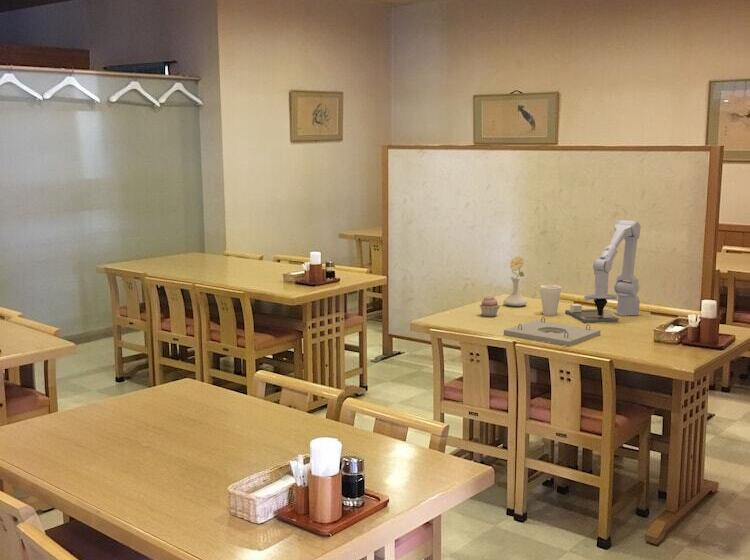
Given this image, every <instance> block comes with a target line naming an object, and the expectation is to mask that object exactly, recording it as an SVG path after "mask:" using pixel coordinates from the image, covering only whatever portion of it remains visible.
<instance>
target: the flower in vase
mask: <svg viewBox="0 0 750 560" xmlns="http://www.w3.org/2000/svg"><path fill="white" fill-rule="evenodd" d="M524 265H525V259H524V257H522V256H521V255H518V256H515V257H513V259H511V261H510V263H509V266H510V267H509V268H510V270H511V272H512V273H513V274H514V275H516V276H512V277H510V279H511V280H512V293H510V294H509V295H508V296H506V298H504V299H503V303H504V304H505V305H506V306H510V307H521V306H525V305H526V304H527V303H528V301H527V300H526V299H525V297H523V296H522V295H521V294H520V293H519V289H518V288H519V283H520V280H521V279H522V278H521V277H525V273H524V271H521V268H523V266H524ZM515 271H516V272H517V271H518V273H516V272H515Z"/></svg>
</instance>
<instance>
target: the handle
mask: <svg viewBox="0 0 750 560" xmlns="http://www.w3.org/2000/svg"><path fill="white" fill-rule="evenodd" d="M569 306H570V307H569V310H570V311H572V312H582V310H583V306H582V304H580V303H570V305H569Z"/></svg>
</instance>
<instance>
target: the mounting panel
mask: <svg viewBox="0 0 750 560" xmlns="http://www.w3.org/2000/svg"><path fill="white" fill-rule="evenodd" d="M601 331H602V330H601V329H595V328H591V324H590V323H586V327H582V326H576V325H572V324H571V325H569V324H563V323H558V322H557V323H556V322H551V321H546V318H545V317H544V316H543V317H541V320H538V319H535V320H532V321H530V322H526V323H525V322H524V323H522V324H521V323H519V324H518V325H516V326H512V327H508V328H505V329H503V336H507V337H513V338H517V339H523V340H529V341H534V340H536V341H535V342H539V341H544V342H543V343H545V342H550V343H549V344H551V343H555V344H554V345H556V344H560V345H559V346H562V345H566V346H565V347H567V346H570V347H572V346H571V345H573V346H575V345H574V344H576V345H578V344H581V343H583V342H582V341H584V342H586V341H588V339H589V340H591V339H590V338H592V339H594V338H596V337H595V336H597V337H599V336H598V335H600V336H601ZM549 332H553V333H549ZM593 337H594V338H593ZM585 340H586V341H585ZM580 342H581V343H580ZM577 343H578V344H577Z"/></svg>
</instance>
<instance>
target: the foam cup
mask: <svg viewBox="0 0 750 560" xmlns="http://www.w3.org/2000/svg"><path fill="white" fill-rule="evenodd" d="M561 293H562V286H560V285H554V284H553V285H552V284H545V285H541V286H540V296H541V307H542V314H543V315H544V316H556V315H557V314H558V309H559V303H560V297H561Z"/></svg>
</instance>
